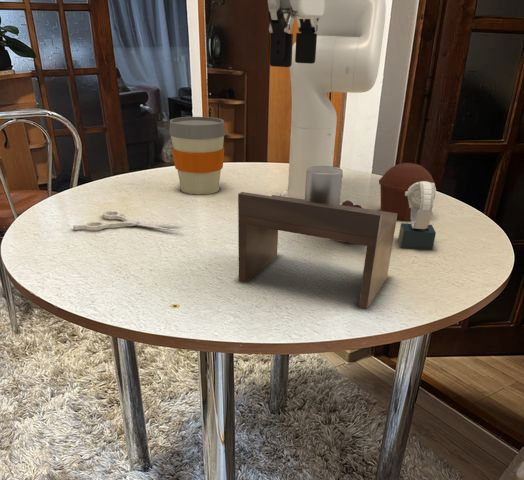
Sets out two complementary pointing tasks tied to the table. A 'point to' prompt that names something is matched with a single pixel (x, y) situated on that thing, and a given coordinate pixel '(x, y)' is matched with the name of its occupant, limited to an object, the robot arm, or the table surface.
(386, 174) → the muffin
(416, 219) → the head sculpture
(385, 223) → the shelf
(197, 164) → the reusable coffee cup
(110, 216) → the scissors
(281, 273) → the table surface
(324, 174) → the grey upright cylinder
